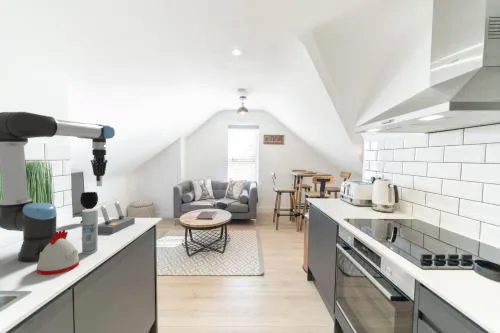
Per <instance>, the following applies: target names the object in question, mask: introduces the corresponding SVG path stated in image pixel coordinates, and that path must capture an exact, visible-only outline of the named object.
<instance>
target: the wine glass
mask: <svg viewBox="0 0 500 333" xmlns="http://www.w3.org/2000/svg"><path fill="white" fill-rule="evenodd" d="M80 194H81V195H80V204H81V206H82V207H83V208H84V209H95V208H96V206H97V204H98V203H99V197H98V196H99V195H98V192H96V191H84V192H82V193H80ZM80 223H81V224H82V220H81V221H80Z"/></svg>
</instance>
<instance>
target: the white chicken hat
mask: <svg viewBox="0 0 500 333" xmlns="http://www.w3.org/2000/svg"><path fill="white" fill-rule="evenodd" d="M68 234H69V232H68V231H66V230H65V229H62V230H58V231H56V234H55V236H52V237H53V241H52V240H49V241H50V243H49V244H48V245H47V246H46V247H45V248H44V250H43V251H42V252H40V258H39V261H37V266H36V273H37V274H38V275H42V276H51V275H58V274H59V275H60V274H63V273H66V272H69V271H72V270H74V269H76V268H78V266H79V265H80V258H79V255H78V253H79V252H78V249H76V247H75V245H74V244H73V243H71V242H70V241H69V240H67V236H68Z"/></svg>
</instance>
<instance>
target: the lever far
mask: <svg viewBox="0 0 500 333" xmlns="http://www.w3.org/2000/svg"><path fill="white" fill-rule="evenodd" d="M114 206H115V210H116V212H117V215H118V217H119V219H122V218H124V217H125V215H124V214H123V211H122V208H121V206H120V202H118V201H115V203H114Z"/></svg>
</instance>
